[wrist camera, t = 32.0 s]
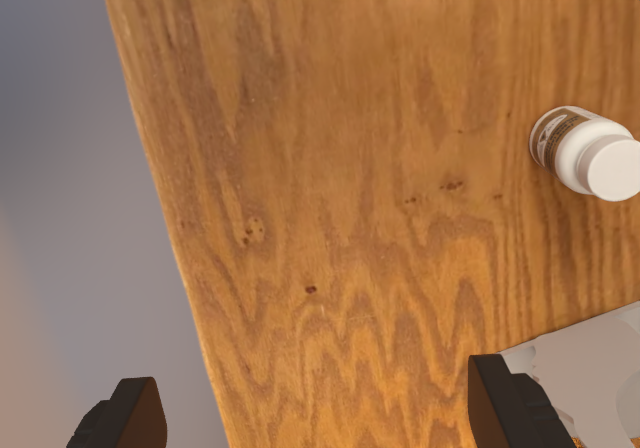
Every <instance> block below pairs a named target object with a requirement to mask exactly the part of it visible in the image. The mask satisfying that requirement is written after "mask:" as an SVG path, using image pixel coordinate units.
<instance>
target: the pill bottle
mask: <svg viewBox="0 0 640 448" xmlns="http://www.w3.org/2000/svg"><path fill="white" fill-rule="evenodd" d="M529 147H530V152H531V154H532V157H533V158H534V160H535V161H536V162H537V164H539V165H540V166H541V167H542V168H543V169H545V170H546V171H547V172H549V173H550V174H551V175H553V176H554V177H555V178H556V179H558V180H559V181H560V182H562V183H563V184H564V185H566V186H567V187H569V188H570V189H572V190H574V191H576V192H578V193H582V194H593V195H595V196H597V197H598V198H600V199H603V200H606V201H621V200H625V199H628V198H630V197H632V196H634V195H636V194H637V193H638V192H639V191H640V142H638V141H636V140H634V138H633V136H632V135H631V133H630V132H629V131H628V130H627V129H626V128H625V127H623V126H622V125H620V124H618V123H616V122H614V121H611V120H609V119H606V118H604V117H601V116H599V115H596V114H594V113H591V112H589V111H587V110H585V109H582V108H579V107H575V106H563V107H558V108H555V109H553V110H551V111H549V112H547V113H546V114H545V115H543V116H542V117H541V118H540V119H539V120H538V121H537V123H536V124H535V126H534V128H533V130H532V132H531V136H530V142H529Z"/></svg>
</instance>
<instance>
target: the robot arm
mask: <svg viewBox="0 0 640 448" xmlns="http://www.w3.org/2000/svg"><path fill="white" fill-rule="evenodd" d="M468 415H469V421H470V426H471V430H472V433H473V436H474V439H475V441H476V444H477V447H478V448H577V447H576V445H575V444H574V442H573V440H572V438H571V437H570V435H569V433H568V431H567V430H566V428H565V426H564V424H563V423H562V421H561V419H559V415H558V414H557V412H556V410H555V408H554V407H553V406H552V405H551V401H550V400H549V398H548V396H547V394H546V393H545V391H544V389H543V387H542V386H541V385H540V384H538V383H537V382H536V381H535V380H534V379H532V378H531V377H530V376H529V375H527V374H526V373H515V374H511V372H510V370H509V368H508V366H507V364H506V362H505V360H504V358H503V357H502V355H501V354H500V353H498V354H484V355H470V356H469V360H468ZM74 433H75V434H74V436H72V437H71V439H70V441H69V442H68V444H67V446H66V448H165V447H166V442H167V423H166V419H165V415H164V411H163V408H162V404H161V400H160V396H159V392H158V388H157V384H156V381H155V379H154V378H153V377H140V378H126V379H122V380H121V381H120V382H119V384H118V385H117V387H116V389H115V391H114V393H113V394H112V396H111V398H110V400H103V401H100V402H99V403H98V404H97V405H96V406H94V407H93V408H92V409H91V410H90V411H89V412H88V413H87V414H86V415H85V416H84V417H83V419H82V420H81V422H80V424H79V426H78V428H77V429H76V431H75V432H74Z"/></svg>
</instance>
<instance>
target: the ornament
mask: <svg viewBox="0 0 640 448" xmlns="http://www.w3.org/2000/svg"><path fill="white" fill-rule="evenodd" d="M498 353H500V354H501V355H502V357H503V358H504V360H505V362H506V364H507V366H508V368H509V370H510V372H511V374H515V373H526V374H527V375H529V376H530V377H531V378H532V379H534V380H535V381H536V382H537V383H538V384H540V385H541V386H542V387H543V389H544V391H545V393H546V394H547V396H548V398H549V400H550V401H551V405H552V406H553V407H554V408H555V410H556V412H557V414H558V415H559V419H561V421H562V423H563V424H564V426H565V428H566V430H567V431H568V433H569V435H570V437H575V438H579V441H580V443H581V444H582V446H583V447H584V448H635V447H634V445H633V444H632V442H631V441H630V439H632V438H638V437H640V301H637V302H634V303H632V304H629V305H626V306H623V307H621V308H618V309H615V310H612V311H610V312H607V313H604V314H602V315H599V316H596V317H593V318H591V319H588V320H585V321H582V322H580V323H577V324H574V325H571V326H569V327H566V328H563V329H561V330H558V331H555V332H552V333H548V334H544V335H541V336H539V337H537V338H536V339H533V340H530V341H528V342H525V343H522V344H519V345H517V346H514V347H511V348H509V349H506V350H503V351H500V352H498ZM498 353H495V354H498Z"/></svg>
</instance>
